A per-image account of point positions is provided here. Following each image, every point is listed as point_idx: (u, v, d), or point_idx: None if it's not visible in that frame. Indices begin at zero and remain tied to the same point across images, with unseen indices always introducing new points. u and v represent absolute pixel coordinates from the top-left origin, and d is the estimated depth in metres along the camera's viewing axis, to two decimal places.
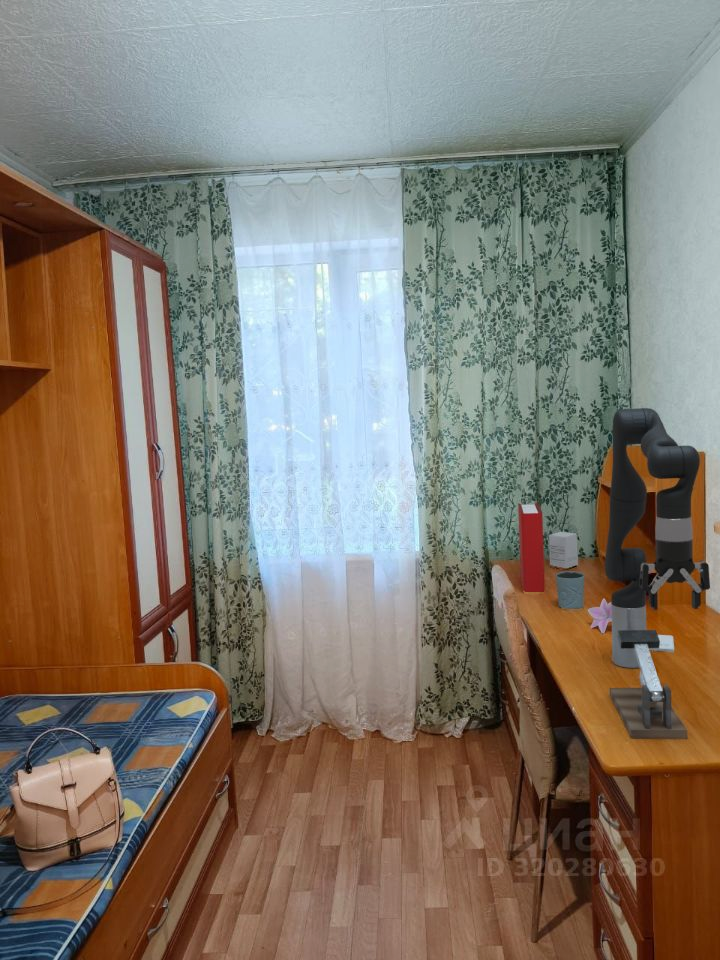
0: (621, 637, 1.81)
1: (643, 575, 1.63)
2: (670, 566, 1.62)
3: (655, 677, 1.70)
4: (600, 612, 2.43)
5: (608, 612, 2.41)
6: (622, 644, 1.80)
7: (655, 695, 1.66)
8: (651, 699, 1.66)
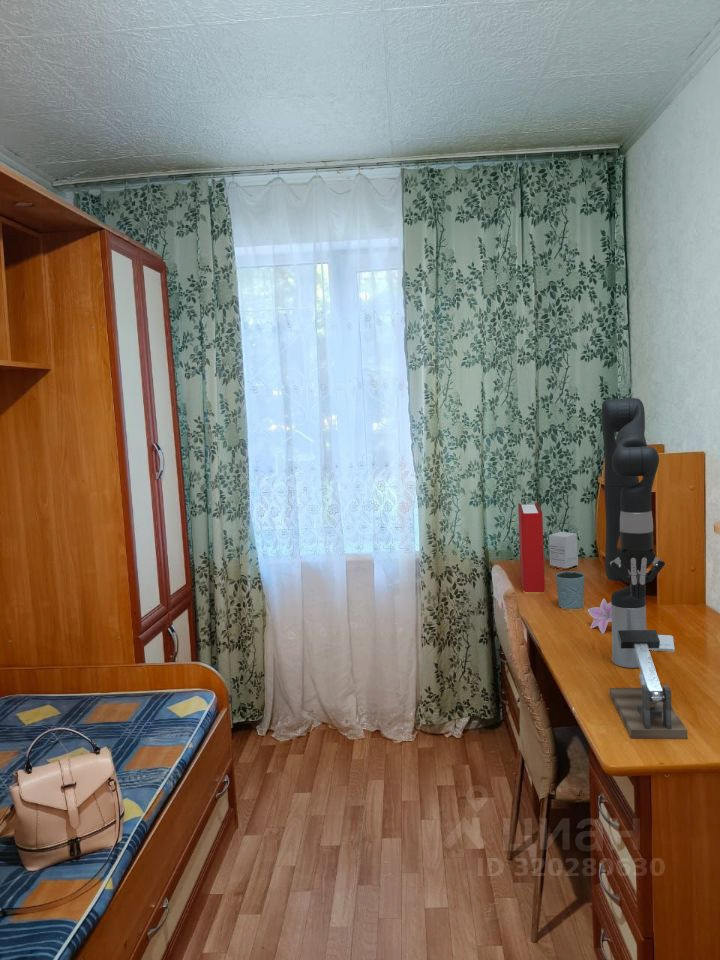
0: (621, 637, 1.81)
1: (617, 572, 1.80)
2: (633, 555, 1.79)
3: (655, 677, 1.70)
4: (600, 612, 2.43)
5: (608, 612, 2.41)
6: (622, 644, 1.80)
7: (655, 695, 1.66)
8: (651, 699, 1.66)
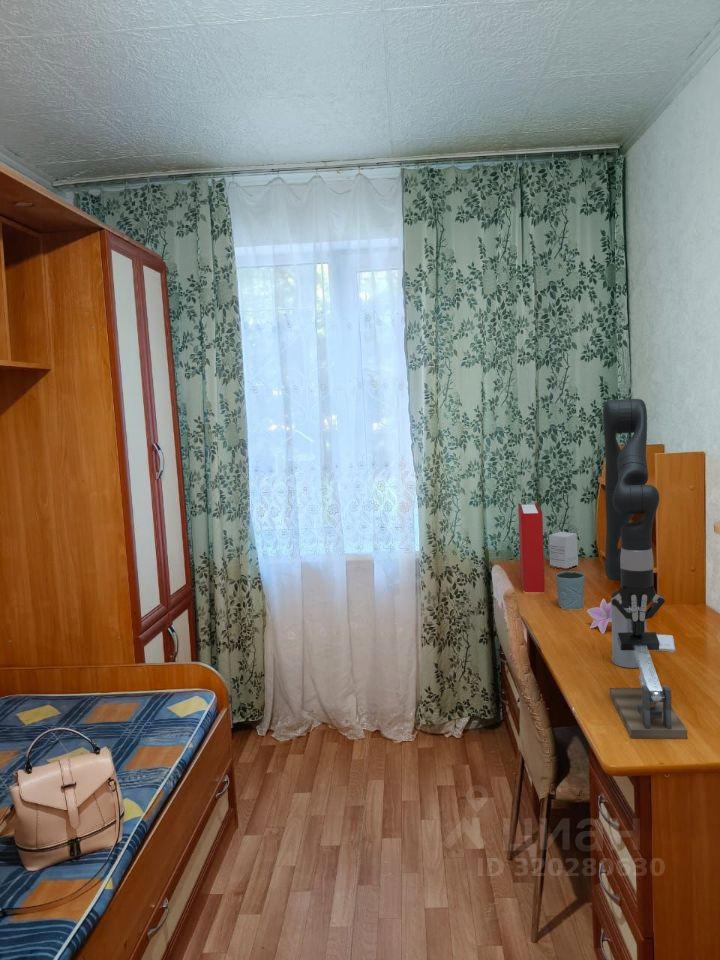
0: (621, 639, 1.82)
1: (618, 608, 1.81)
2: (633, 592, 1.80)
3: (655, 677, 1.70)
4: (600, 612, 2.43)
5: (608, 612, 2.41)
6: (622, 646, 1.81)
7: (655, 695, 1.66)
8: (651, 699, 1.66)
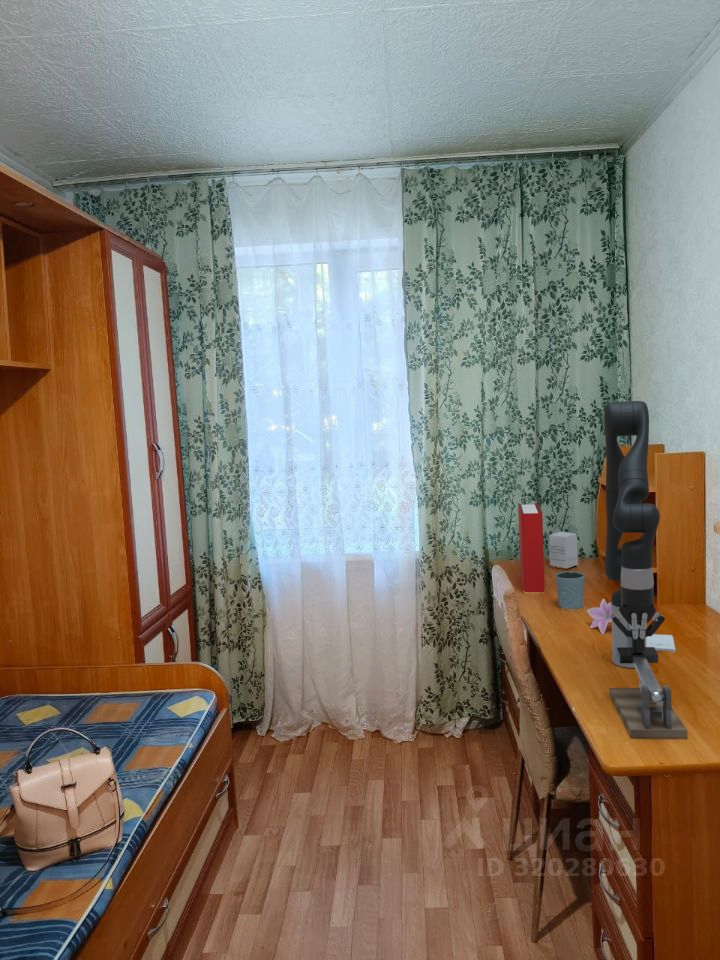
0: (620, 652, 1.84)
1: (618, 626, 1.81)
2: (633, 610, 1.80)
3: (655, 681, 1.71)
4: (600, 612, 2.43)
5: (608, 612, 2.41)
6: (621, 658, 1.82)
7: (655, 694, 1.66)
8: (651, 698, 1.66)
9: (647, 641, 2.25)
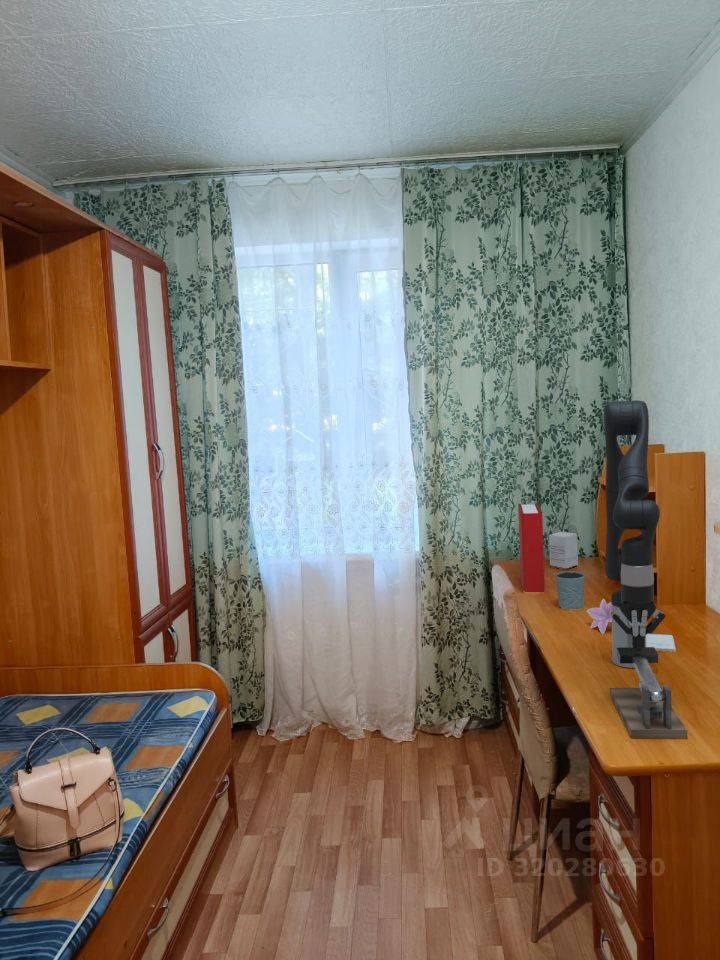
0: (620, 652, 1.84)
1: (618, 623, 1.81)
2: (634, 607, 1.80)
3: (655, 681, 1.71)
4: (600, 612, 2.43)
5: (608, 612, 2.41)
6: (621, 658, 1.82)
7: (655, 694, 1.66)
8: (651, 698, 1.66)
9: (647, 641, 2.25)
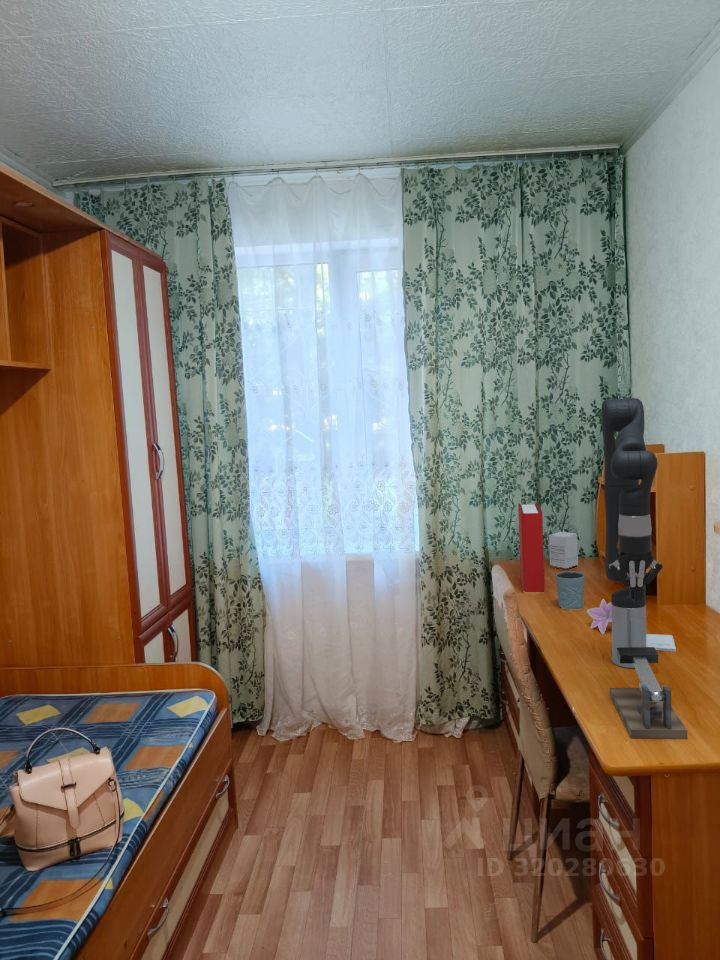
0: (620, 652, 1.84)
1: (616, 574, 1.81)
2: (631, 558, 1.80)
3: (655, 681, 1.71)
4: (600, 612, 2.43)
5: (608, 613, 2.41)
6: (621, 658, 1.82)
7: (655, 694, 1.66)
8: (651, 698, 1.66)
9: (647, 641, 2.25)
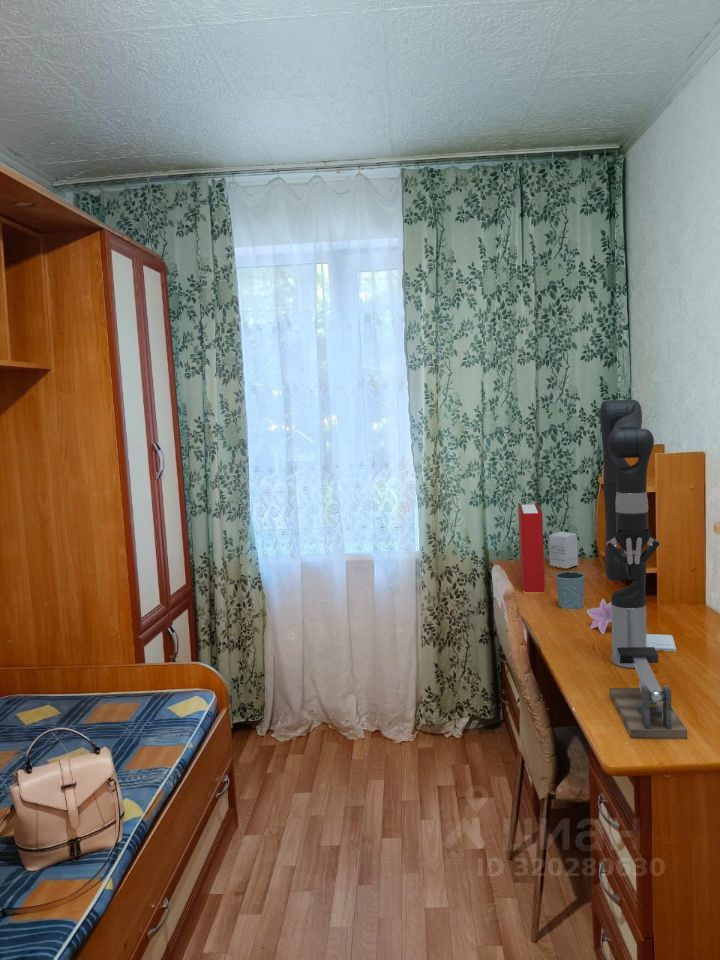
0: (620, 652, 1.84)
1: (613, 552, 1.84)
2: (628, 536, 1.83)
3: (655, 681, 1.71)
4: (599, 612, 2.43)
5: (607, 613, 2.41)
6: (621, 658, 1.82)
7: (655, 694, 1.66)
8: (651, 698, 1.66)
9: (647, 641, 2.25)
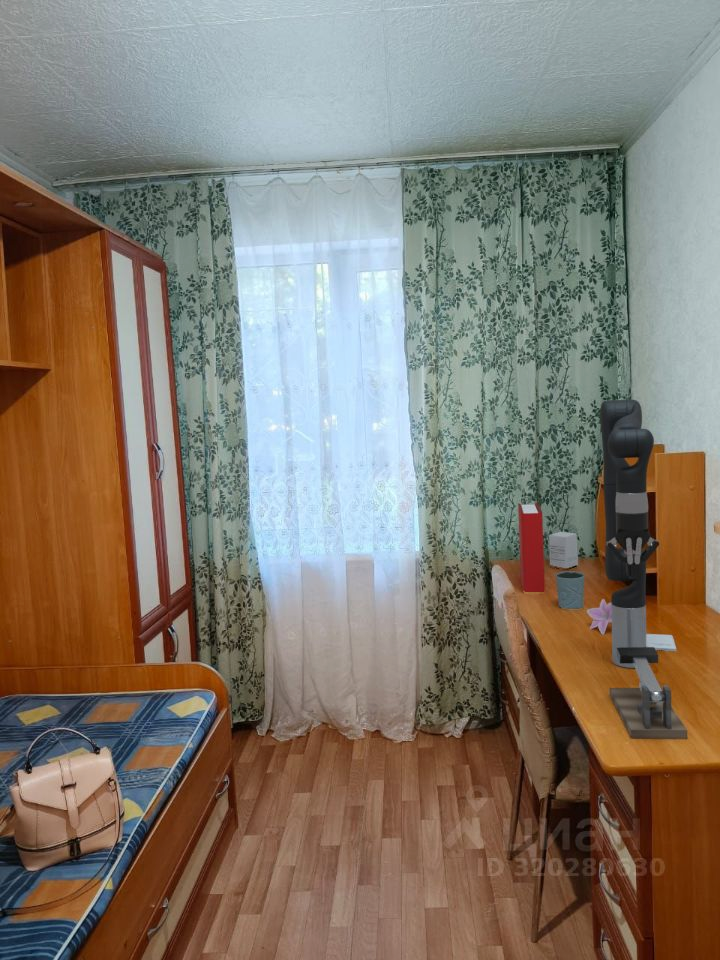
0: (620, 652, 1.84)
1: (613, 551, 1.84)
2: (628, 536, 1.83)
3: (655, 681, 1.71)
4: (599, 612, 2.43)
5: (607, 613, 2.41)
6: (621, 658, 1.82)
7: (655, 694, 1.66)
8: (651, 698, 1.66)
9: (648, 641, 2.25)
